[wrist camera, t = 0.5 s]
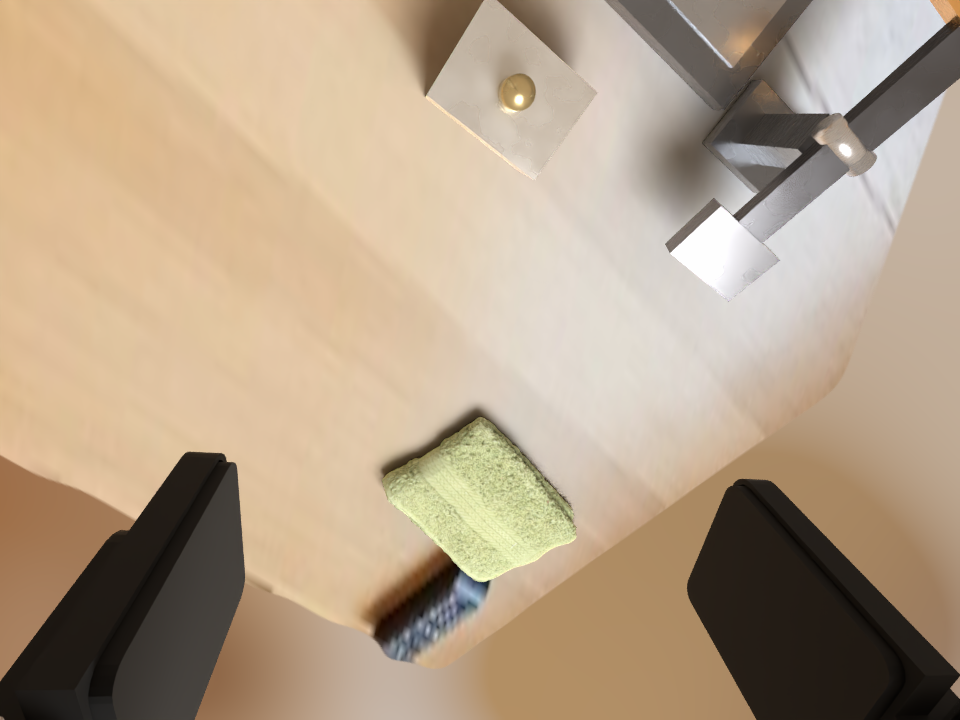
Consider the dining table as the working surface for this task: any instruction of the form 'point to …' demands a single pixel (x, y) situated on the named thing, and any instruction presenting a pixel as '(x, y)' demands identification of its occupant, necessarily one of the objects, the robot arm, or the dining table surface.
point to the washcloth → (482, 502)
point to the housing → (510, 90)
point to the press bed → (730, 75)
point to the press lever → (817, 166)
